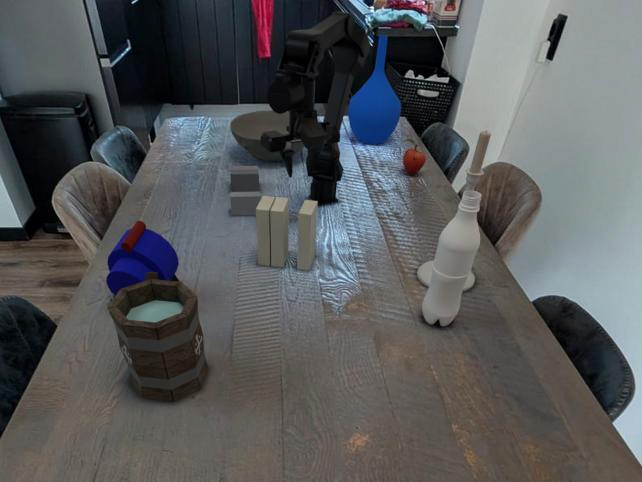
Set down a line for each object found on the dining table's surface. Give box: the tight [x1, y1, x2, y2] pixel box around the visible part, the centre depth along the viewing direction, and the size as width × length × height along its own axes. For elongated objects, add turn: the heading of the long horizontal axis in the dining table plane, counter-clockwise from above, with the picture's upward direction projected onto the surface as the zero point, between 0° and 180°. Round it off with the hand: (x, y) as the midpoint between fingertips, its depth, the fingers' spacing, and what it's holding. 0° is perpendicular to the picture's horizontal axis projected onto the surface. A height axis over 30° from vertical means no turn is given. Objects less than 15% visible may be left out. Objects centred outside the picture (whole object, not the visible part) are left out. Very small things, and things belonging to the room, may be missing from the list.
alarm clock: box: [105, 220, 181, 298], centre depth 94 cm, size 12×12×15 cm
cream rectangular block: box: [296, 199, 319, 272], centre depth 106 cm, size 7×3×13 cm, turn 167°
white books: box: [255, 195, 290, 268], centre depth 107 cm, size 7×6×13 cm
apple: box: [402, 138, 427, 176], centre depth 147 cm, size 8×7×10 cm
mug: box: [107, 272, 210, 402], centre depth 80 cm, size 20×14×15 cm
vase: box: [347, 34, 402, 145], centre depth 161 cm, size 18×18×30 cm
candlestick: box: [416, 129, 492, 293], centre depth 97 cm, size 13×13×30 cm
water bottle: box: [421, 190, 483, 327], centre depth 88 cm, size 7×7×25 cm
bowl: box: [229, 110, 305, 162], centre depth 154 cm, size 26×26×10 cm
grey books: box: [229, 165, 262, 217], centre depth 133 cm, size 8×21×5 cm, turn 5°
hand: (300, 175), depth 118 cm, fingers open, 5 cm apart
